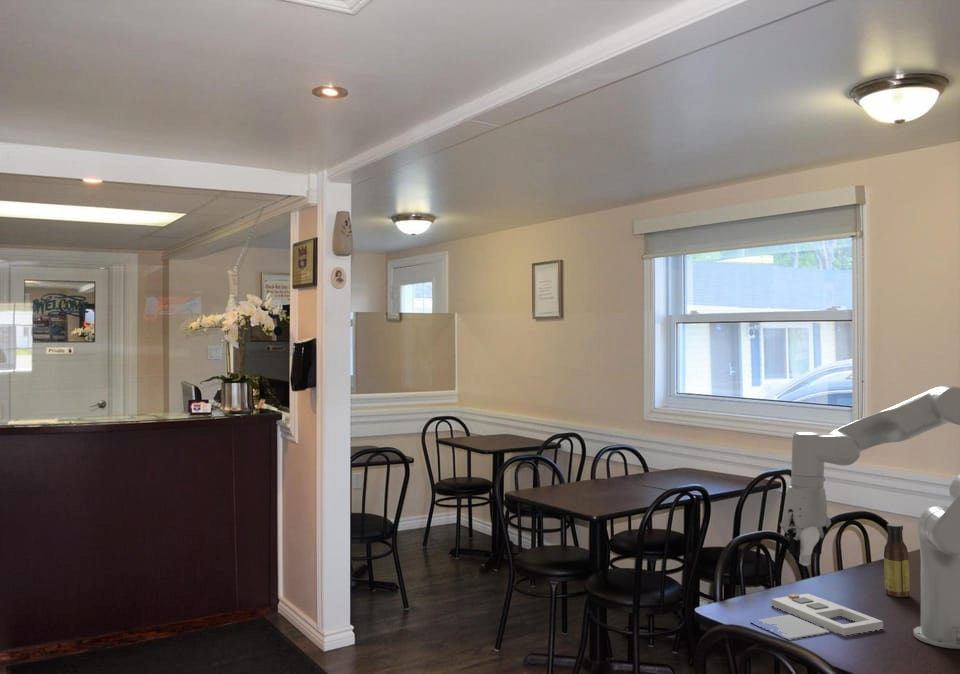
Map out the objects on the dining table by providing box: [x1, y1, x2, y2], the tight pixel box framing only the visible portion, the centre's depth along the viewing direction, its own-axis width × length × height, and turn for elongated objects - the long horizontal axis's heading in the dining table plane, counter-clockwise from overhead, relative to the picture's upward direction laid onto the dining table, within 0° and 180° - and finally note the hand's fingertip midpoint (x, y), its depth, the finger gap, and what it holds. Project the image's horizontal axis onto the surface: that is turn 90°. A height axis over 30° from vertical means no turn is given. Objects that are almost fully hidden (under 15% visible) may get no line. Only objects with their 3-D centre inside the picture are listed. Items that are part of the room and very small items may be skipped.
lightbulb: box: [794, 527, 820, 567], centre depth 197 cm, size 6×6×11 cm
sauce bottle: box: [883, 522, 911, 598], centre depth 223 cm, size 6×6×20 cm
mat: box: [758, 613, 831, 640], centre depth 195 cm, size 13×13×1 cm
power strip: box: [770, 593, 884, 636], centre depth 203 cm, size 24×13×3 cm, turn 23°
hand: (805, 553), depth 197 cm, fingers closed on lightbulb, 6 cm apart
